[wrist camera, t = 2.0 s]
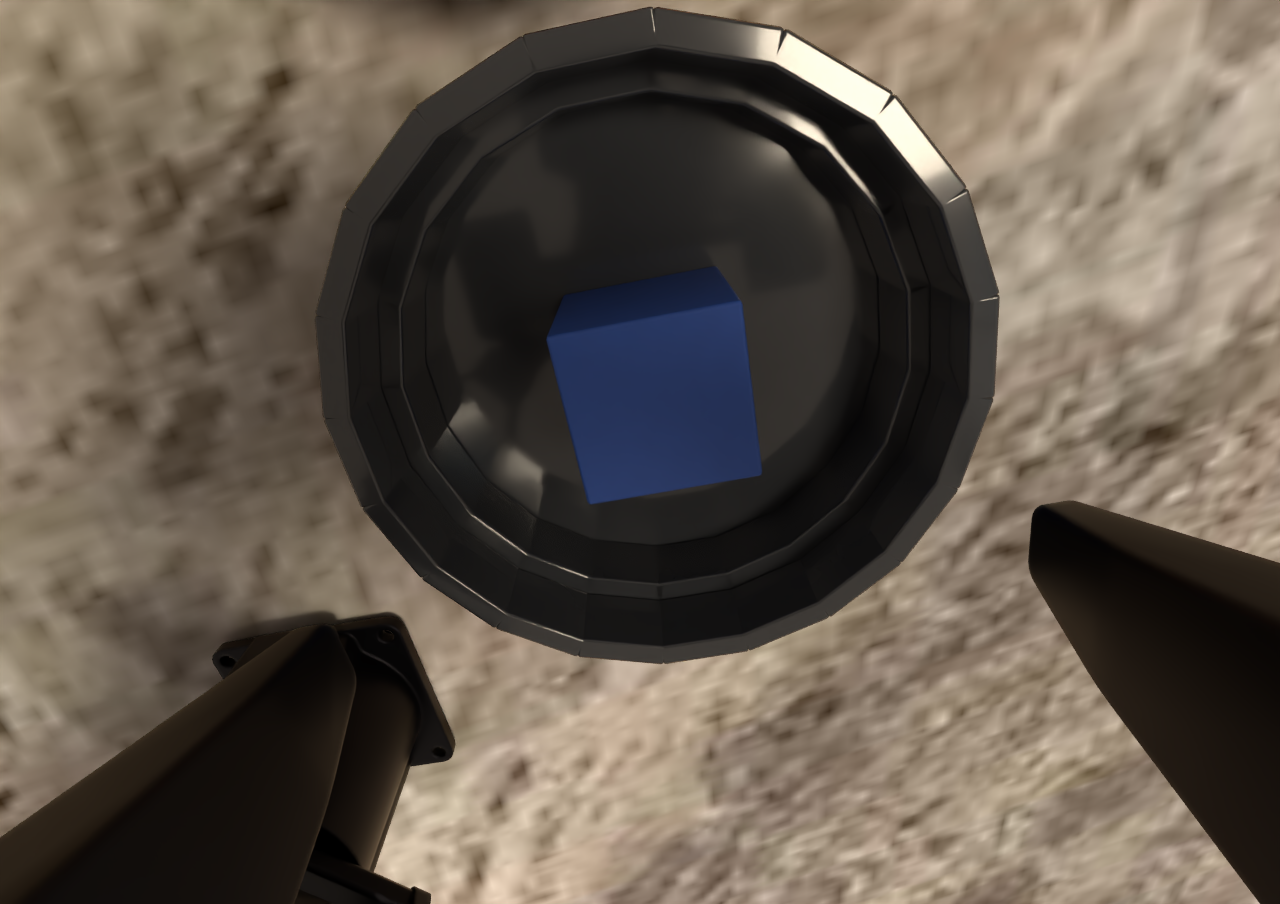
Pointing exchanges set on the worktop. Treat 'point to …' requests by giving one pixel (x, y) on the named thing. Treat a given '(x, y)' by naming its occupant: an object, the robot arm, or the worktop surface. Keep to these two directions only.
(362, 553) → the worktop surface
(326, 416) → the charcoal bowl
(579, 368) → the blue block
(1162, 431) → the worktop surface
